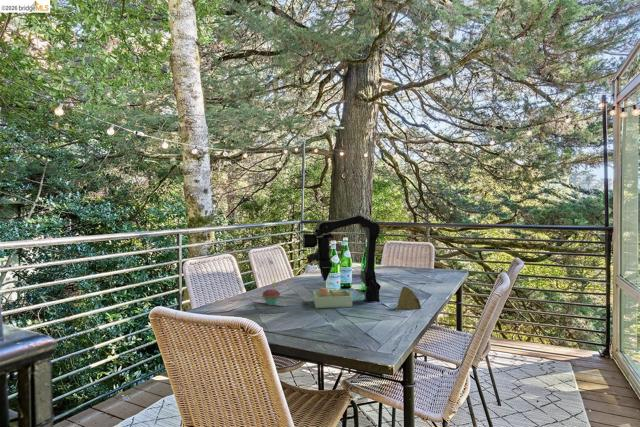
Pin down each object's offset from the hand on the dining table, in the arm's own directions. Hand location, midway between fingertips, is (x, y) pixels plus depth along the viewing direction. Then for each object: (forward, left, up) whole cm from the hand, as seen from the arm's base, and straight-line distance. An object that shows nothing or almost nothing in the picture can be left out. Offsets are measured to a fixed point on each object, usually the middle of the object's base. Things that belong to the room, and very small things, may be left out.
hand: (323, 278), depth 200 cm
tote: (-4, 0, -12) cm, 13 cm away
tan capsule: (0, 0, -12) cm, 12 cm away
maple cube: (-7, 0, -12) cm, 14 cm away
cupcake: (+26, -4, -13) cm, 29 cm away
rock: (-39, +13, -13) cm, 43 cm away
